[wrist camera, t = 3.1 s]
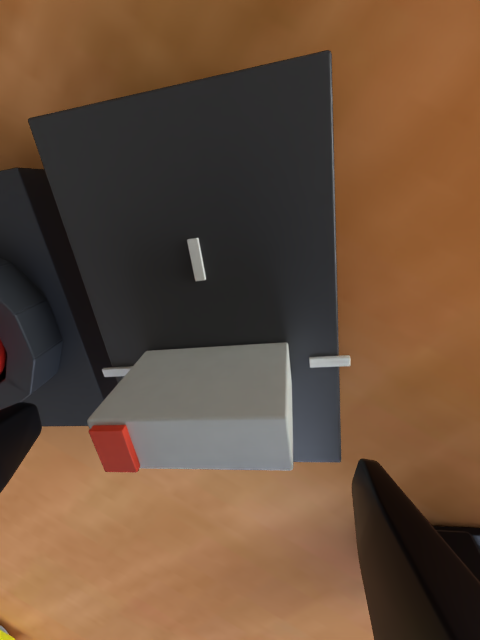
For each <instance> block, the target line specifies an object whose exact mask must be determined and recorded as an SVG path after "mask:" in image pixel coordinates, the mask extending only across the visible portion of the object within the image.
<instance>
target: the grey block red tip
mask: <svg viewBox="0 0 480 640" xmlns="http://www.w3.org/2000/svg"><path fill="white" fill-rule="evenodd" d="M87 423H88V426H89V428H90V430H89V434H90V436H91V438H92V441H93V443H94V446H95V448H96V451H97V453H98V455H99V458H100V460H101V463H102V465H103V467H104V470H105V472H137V471H138V470H139V468H158V469H227V470H292V469H293V421H292V380H291V369H290V358H289V347H288V343H286V342H283V343H267V344H251V345H234V346H218V347H201V348H185V349H169V350H152V351H146V352H145V353H144V354H143V355H142V356H141V358H140V359H139V360H138V361H137V362H136V363H135V365H134V366H133V367H132V368H131V369H130V370H129V372H128V373H127V374H126V375H125V376H124V377H123V379H122V380H121V381H120V382H119V383H118V384H117V386H116V387H115V388H114V389H113V390H112V391H111V393H110V394H109V395H108V396H107V397H106V398H105V400H104V401H103V402H102V403H101V404H100V405H99V407H98V408H97V409H96V410H95V411H94V412H93V414H92V415H91V416H90V417H89V418H88V420H87Z"/></svg>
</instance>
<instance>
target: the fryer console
mask: <svg viewBox="0 0 480 640" xmlns="http://www.w3.org/2000/svg"><path fill="white" fill-rule="evenodd" d="M28 123H29V125H30V128H31V131H32V134H33V137H34V140H35V143H36V146H37V149H38V152H39V155H40V158H41V160H42V163H43V166H44V169H45V172H46V175H47V178H48V181H49V184H50V187H51V190H52V193H53V195H54V198H55V201H56V204H57V207H58V210H59V213H60V216H61V219H62V222H63V225H64V228H65V230H66V233H67V236H68V239H69V242H70V245H71V248H72V251H73V254H74V257H75V260H76V263H77V265H78V268H79V271H80V274H81V277H82V280H83V283H84V286H85V289H86V292H87V295H88V298H89V300H90V303H91V306H92V309H93V312H94V315H95V318H96V321H97V324H98V327H99V330H100V333H101V335H102V338H103V341H104V344H105V347H106V350H107V353H108V356H109V359H110V362H111V365H112V367H111V368H103V369H102V372H103V374H104V377H116V379H117V382H118V383H119V382H120V381H121V380H122V379H123V377H124V376H125V375H126V374H127V373H128V372H129V370H130V369H131V368H132V367H133V366H134V365H135V363H136V362H137V361H138V360H139V359H140V358H141V356H142V355H143V354H144V353H145V352H146V351H152V350H169V349H185V348H201V347H218V346H234V345H251V344H267V343H283V342H286V343H288V347H289V358H290V369H291V380H292V421H293V462H341V425H340V384H339V366H350V356H349V355H344V356H339V342H338V301H337V260H336V218H335V177H334V136H333V95H332V54H331V51H329V50H326V51H322V52H318V53H313V54H309V55H304V56H300V57H296V58H291V59H287V60H283V61H278V62H274V63H269V64H265V65H261V66H256V67H252V68H247V69H243V70H239V71H234V72H230V73H225V74H221V75H217V76H212V77H208V78H203V79H199V80H195V81H190V82H186V83H182V84H177V85H173V86H168V87H164V88H160V89H155V90H151V91H146V92H142V93H138V94H133V95H129V96H124V97H120V98H116V99H111V100H107V101H102V102H98V103H94V104H89V105H85V106H80V107H76V108H72V109H67V110H63V111H59V112H54V113H50V114H45V115H41V116H37V117H32V118H29V119H28Z"/></svg>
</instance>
